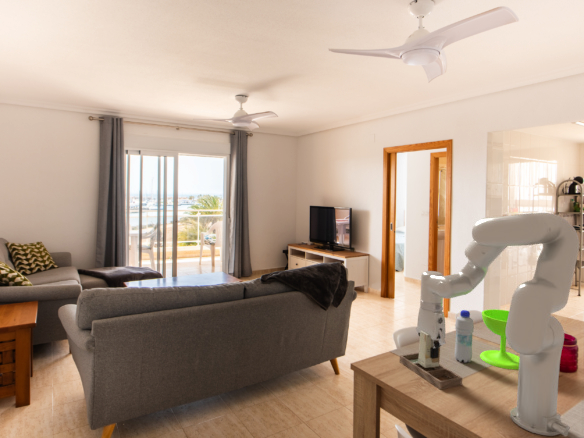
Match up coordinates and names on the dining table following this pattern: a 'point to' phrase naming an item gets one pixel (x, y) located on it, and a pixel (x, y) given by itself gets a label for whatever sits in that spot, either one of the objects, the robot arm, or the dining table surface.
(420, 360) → the skincare box
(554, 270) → the robot arm
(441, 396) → the dining table surface
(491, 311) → the wineglass
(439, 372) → the notch rack
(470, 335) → the bottle
